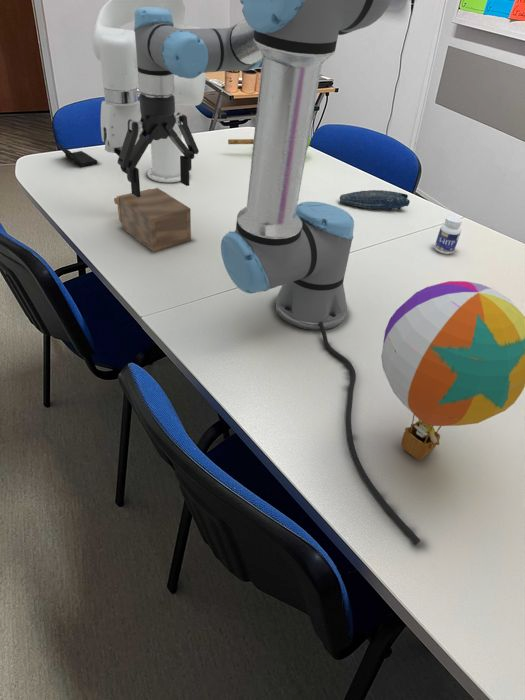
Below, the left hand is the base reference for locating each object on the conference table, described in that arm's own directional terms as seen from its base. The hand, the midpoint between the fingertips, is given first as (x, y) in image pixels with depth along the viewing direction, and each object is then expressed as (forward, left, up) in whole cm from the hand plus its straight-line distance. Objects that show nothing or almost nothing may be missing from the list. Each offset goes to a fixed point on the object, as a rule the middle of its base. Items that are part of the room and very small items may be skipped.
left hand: (127, 172), depth 134 cm
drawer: (+5, +4, -11) cm, 13 cm away
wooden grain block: (+10, +8, -12) cm, 18 cm away
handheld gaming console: (-40, -23, -12) cm, 48 cm away
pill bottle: (+13, +85, -12) cm, 86 cm away
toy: (+83, +55, -12) cm, 100 cm away
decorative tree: (-55, +42, -12) cm, 71 cm away
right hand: (+13, +10, +1) cm, 16 cm away
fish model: (-14, +71, -12) cm, 74 cm away
